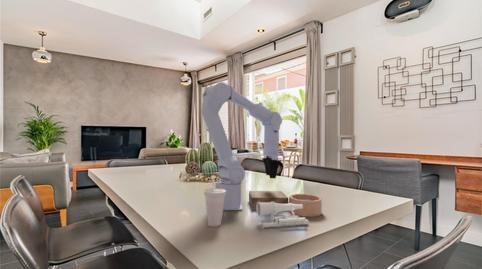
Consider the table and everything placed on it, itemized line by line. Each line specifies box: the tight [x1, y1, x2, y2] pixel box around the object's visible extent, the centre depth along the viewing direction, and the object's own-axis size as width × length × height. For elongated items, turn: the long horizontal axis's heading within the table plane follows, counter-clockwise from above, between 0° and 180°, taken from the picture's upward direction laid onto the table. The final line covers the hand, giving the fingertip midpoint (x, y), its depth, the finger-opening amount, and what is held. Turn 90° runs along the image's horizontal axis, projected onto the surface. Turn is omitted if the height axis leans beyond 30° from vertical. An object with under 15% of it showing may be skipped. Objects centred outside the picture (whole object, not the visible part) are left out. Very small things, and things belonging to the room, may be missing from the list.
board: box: [248, 190, 289, 210], centre depth 92 cm, size 13×11×4 cm
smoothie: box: [203, 175, 226, 228], centre depth 70 cm, size 6×6×14 cm
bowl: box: [288, 193, 323, 218], centre depth 84 cm, size 11×11×5 cm
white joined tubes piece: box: [255, 201, 310, 229], centre depth 72 cm, size 8×14×5 cm
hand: (270, 176), depth 97 cm, fingers open, 7 cm apart
